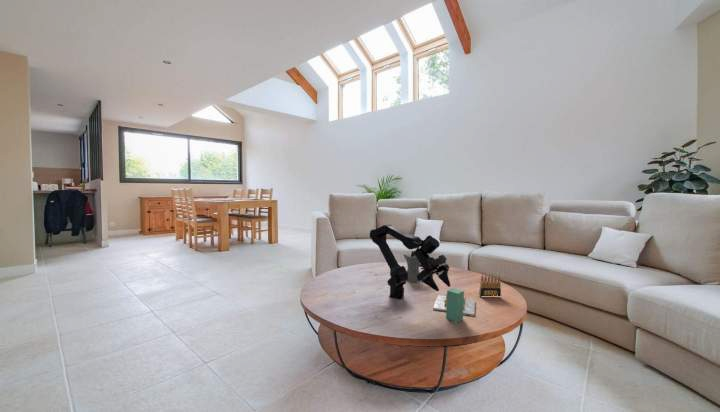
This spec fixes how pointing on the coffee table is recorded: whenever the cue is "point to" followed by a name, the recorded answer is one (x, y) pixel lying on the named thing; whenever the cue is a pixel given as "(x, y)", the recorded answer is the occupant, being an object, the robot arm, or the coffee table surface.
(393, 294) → the robot arm
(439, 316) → the coffee table surface
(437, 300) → the chassis
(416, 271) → the coffeepot
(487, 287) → the ammunition clip
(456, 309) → the green block
